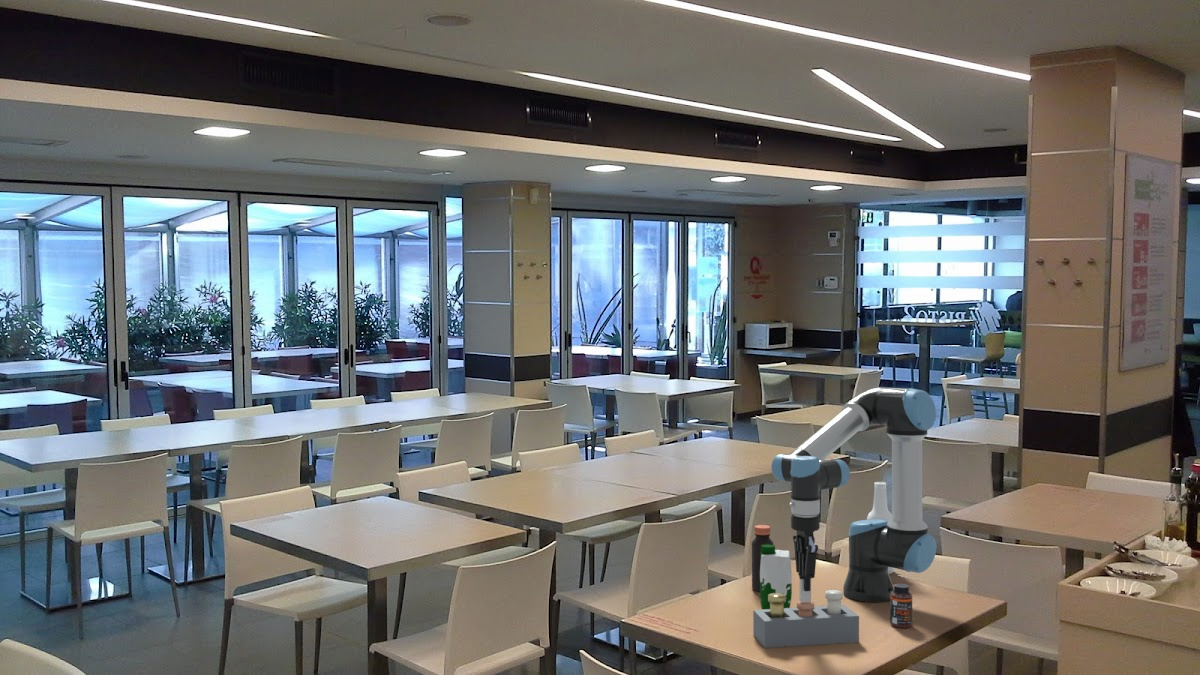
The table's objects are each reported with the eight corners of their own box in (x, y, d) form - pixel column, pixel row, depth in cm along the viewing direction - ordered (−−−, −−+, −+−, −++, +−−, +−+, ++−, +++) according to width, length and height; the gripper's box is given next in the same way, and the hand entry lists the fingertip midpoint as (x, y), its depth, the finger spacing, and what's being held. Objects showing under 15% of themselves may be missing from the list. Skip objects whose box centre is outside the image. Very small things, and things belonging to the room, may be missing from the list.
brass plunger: (782, 619, 272) (782, 592, 271) (788, 624, 267) (787, 597, 267) (766, 620, 271) (765, 593, 271) (771, 625, 266) (771, 598, 266)
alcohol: (878, 576, 331) (878, 486, 330) (861, 570, 339) (861, 481, 338) (899, 573, 334) (899, 483, 334) (881, 567, 342) (881, 479, 341)
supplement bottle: (896, 629, 277) (896, 588, 277) (886, 622, 283) (886, 583, 283) (916, 628, 278) (916, 587, 278) (905, 621, 284) (905, 581, 284)
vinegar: (751, 591, 315) (750, 528, 314) (752, 586, 321) (752, 523, 321) (773, 593, 313) (772, 529, 312) (774, 587, 320) (773, 524, 319)
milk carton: (760, 608, 297) (760, 541, 296) (791, 610, 295) (791, 542, 295) (759, 618, 288) (759, 548, 288) (791, 619, 287) (791, 550, 286)
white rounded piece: (838, 616, 274) (838, 589, 274) (845, 621, 269) (845, 594, 269) (822, 617, 273) (822, 590, 273) (829, 622, 269) (828, 595, 268)
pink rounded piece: (810, 626, 273) (810, 599, 273) (816, 631, 268) (816, 604, 268) (794, 627, 272) (794, 600, 272) (800, 632, 268) (800, 605, 267)
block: (844, 629, 277) (844, 604, 277) (859, 641, 267) (859, 615, 267) (753, 635, 273) (753, 610, 273) (764, 647, 263) (764, 621, 263)
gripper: (783, 510, 275) (783, 595, 276) (800, 520, 262) (800, 609, 263) (810, 509, 276) (810, 594, 277) (827, 519, 263) (827, 608, 264)
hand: (805, 601), depth 270 cm, fingers closed
